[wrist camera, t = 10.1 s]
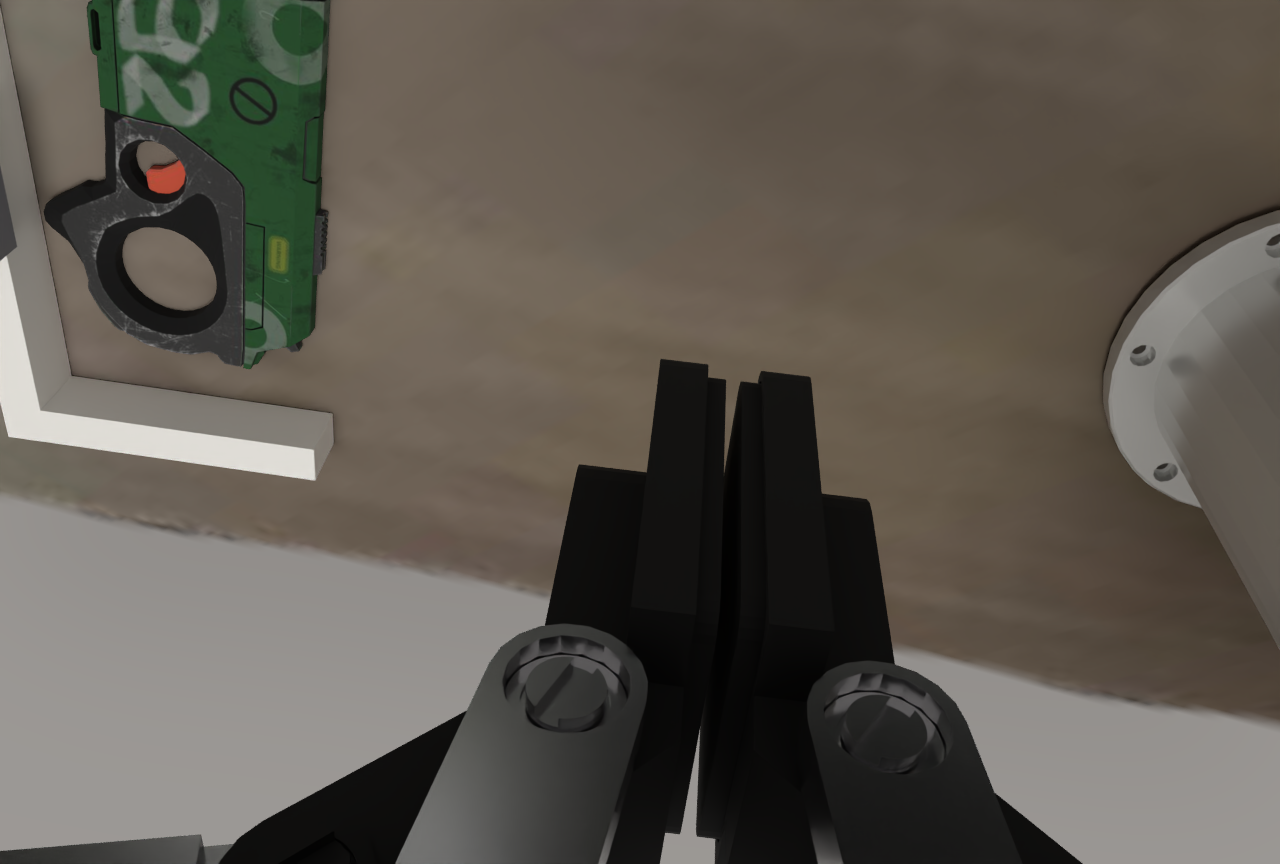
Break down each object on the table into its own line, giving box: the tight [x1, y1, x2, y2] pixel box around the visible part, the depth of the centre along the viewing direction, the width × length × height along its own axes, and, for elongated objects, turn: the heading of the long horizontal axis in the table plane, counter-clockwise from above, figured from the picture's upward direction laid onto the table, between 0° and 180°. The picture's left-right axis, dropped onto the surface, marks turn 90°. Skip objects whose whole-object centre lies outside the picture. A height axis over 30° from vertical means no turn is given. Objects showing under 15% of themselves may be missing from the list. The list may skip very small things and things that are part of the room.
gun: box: [44, 0, 330, 369], centre depth 39 cm, size 16×1×10 cm
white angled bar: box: [0, 8, 334, 480], centre depth 38 cm, size 12×22×4 cm, turn 173°
